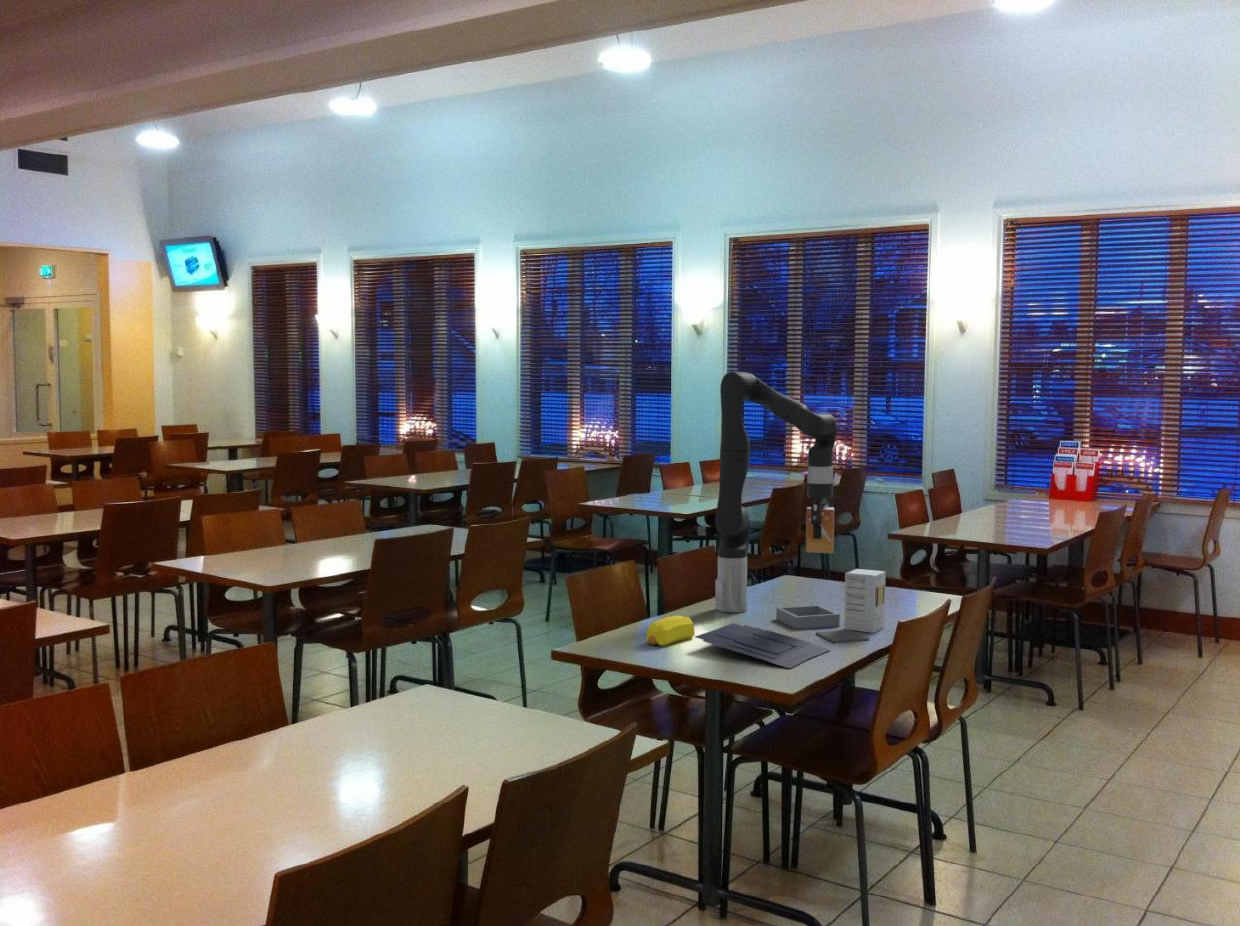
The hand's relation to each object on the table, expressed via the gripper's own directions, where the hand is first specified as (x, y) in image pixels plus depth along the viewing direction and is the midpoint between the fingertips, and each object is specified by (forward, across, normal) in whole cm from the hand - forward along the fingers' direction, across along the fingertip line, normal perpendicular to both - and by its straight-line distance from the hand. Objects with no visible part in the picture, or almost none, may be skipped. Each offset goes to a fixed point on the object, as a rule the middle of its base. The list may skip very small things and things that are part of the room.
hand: (820, 536), depth 324 cm
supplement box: (+27, 0, -13) cm, 30 cm away
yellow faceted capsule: (+27, -35, +35) cm, 56 cm away
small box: (+5, 0, 0) cm, 5 cm away
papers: (+27, -38, +8) cm, 47 cm away
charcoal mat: (+26, -13, -9) cm, 31 cm away
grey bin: (+26, +2, +4) cm, 27 cm away
